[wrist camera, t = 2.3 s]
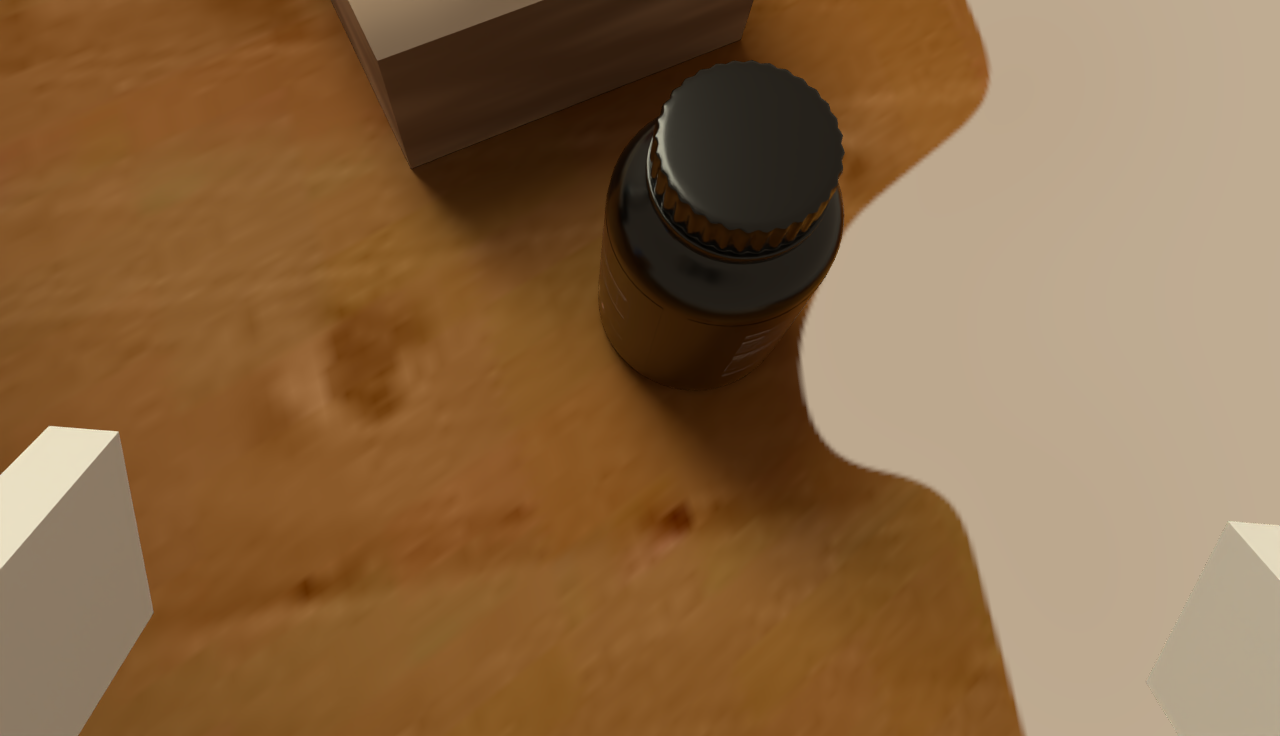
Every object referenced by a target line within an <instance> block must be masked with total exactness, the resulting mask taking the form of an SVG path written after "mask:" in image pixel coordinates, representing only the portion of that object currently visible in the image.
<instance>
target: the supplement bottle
mask: <svg viewBox="0 0 1280 736" xmlns="http://www.w3.org/2000/svg"><path fill="white" fill-rule="evenodd" d="M842 137H843V135H842V133H841V131H840V130H839V129H838V122H837V118H836V117H835V116H834V115H833V114H832V113H831V111H830V107H829V104H828V103H827V102H826V101H824V100H823V99H822V98H821V97H820V95H819V93H818V91H817V90H816V89H814V88H812V87H810V86H808V85H807V83H806V82H805V81H804V79H802V78H799V77H796V76H793V75H792V74H791V73H790V72H789V71H788V70H786V69H778V68H776V67H775V66H774V65H772V64H770V63H764V64H760V63H758V62H755V61H753V60H751V61H747V62H740V61H731V62H729V63H727V64H715V65H714V66H712V67H711V68H710V69H702V70H699V71H698V72H697V73H696V75H695V76H693V77H689V78H686V79H685V80H684V82H683V83H682V86H680V87H678V88H676V89H675V90H673V91H672V93H671V96H670V99H669V100H668V101H667V102H666V103H665V104H663V106H662V109H661V114H660V116H659V117H657V118H656V119H654V120H653V121H651V122H650V123H648V124H647V125H646V126H645V127H644V128H642V129H641V130H640V131H639V132H638V133H637V134H636V135H635V136H634V137H633V138H632V140H631V141H630V142H629V144H628V145H627V146H626V147H625V149H624V151H623V152H622V154H621V155H620V157H619V159H618V161H617V163H616V165H615V167H614V170H613V173H612V176H611V180H610V184H609V188H608V193H607V199H606V208H605V219H604V230H603V241H602V252H601V264H600V275H599V297H598V300H599V310H600V315H601V320H602V323H603V327H604V329H605V332H606V334H607V336H608V338H609V340H610V342H611V344H612V345H613V347H614V348H615V350H616V351H617V352H618V354H619V355H620V356H621V357H622V358H623V359H624V360H625V361H626V362H627V363H628V364H629V365H630V366H631V367H632V368H633V369H635V370H636V371H637V372H639V373H640V374H642V375H643V376H645V377H647V378H649V379H650V380H652V381H655V382H657V383H659V384H662V385H665V386H668V387H672V388H677V389H683V390H707V389H713V388H718V387H721V386H725V385H728V384H730V383H733V382H735V381H737V380H739V379H741V378H742V377H744V376H746V375H747V374H749V373H750V372H751V371H752V370H754V369H755V368H756V367H757V366H758V365H759V364H760V363H761V362H763V361H764V359H765V358H766V357H767V356H768V355H769V353H770V352H771V351H772V350H773V348H774V347H775V346H776V345H777V343H778V342H779V340H780V339H781V338H782V336H783V335H784V334H785V332H786V331H787V329H788V328H789V327H790V325H791V324H792V323H793V321H794V320H795V318H796V317H797V316H798V314H799V313H800V312H801V310H802V309H803V307H804V306H805V305H806V303H807V302H808V301H809V299H810V298H811V296H812V295H813V294H814V292H815V291H816V290H817V288H818V287H819V285H820V284H821V283H822V281H823V279H824V278H825V276H826V275H827V273H828V271H829V270H830V268H831V266H832V264H833V262H834V260H835V258H836V255H837V252H838V250H839V247H840V243H841V239H842V233H843V225H844V208H843V200H842V194H841V190H840V186H839V183H838V179H839V177H840V176H841V174H842V171H843V165H842V159H843V156H844V153H845V152H844V149H843V146H842V144H841V142H842Z"/></svg>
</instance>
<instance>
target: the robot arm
mask: <svg viewBox="0 0 1280 736" xmlns="http://www.w3.org/2000/svg"><path fill="white" fill-rule="evenodd" d="M153 613H154V612H153V607H152V602H151V597H150V592H149V586H148V581H147V576H146V571H145V566H144V560H143V555H142V550H141V545H140V540H139V534H138V529H137V524H136V519H135V514H134V508H133V503H132V498H131V493H130V488H129V482H128V477H127V472H126V467H125V462H124V457H123V451H122V446H121V441H120V436H119V432H117V431H105V430H92V429H80V428H67V427H55V426H49V427H48V428H47V429H46V430H45V431H44V432H43V433H42V434H41V435H40V436H39V437H38V438H37V439H36V440H35V441H34V442H33V443H32V444H31V445H30V446H29V447H28V448H27V449H26V450H25V451H24V452H23V453H22V454H21V455H20V456H19V457H18V458H17V459H16V460H15V461H14V462H13V463H12V464H11V465H10V466H9V467H8V468H7V469H6V470H5V471H4V472H3V473H2V474H1V475H0V736H78V735H79V733H80V732H81V730H82V728H83V727H84V725H85V723H86V722H87V720H88V719H89V717H90V715H91V714H92V712H93V710H94V709H95V707H96V706H97V704H98V702H99V701H100V699H101V697H102V696H103V694H104V692H105V691H106V689H107V688H108V686H109V684H110V683H111V681H112V679H113V678H114V676H115V675H116V673H117V671H118V670H119V668H120V666H121V665H122V663H123V662H124V660H125V658H126V657H127V655H128V653H129V652H130V650H131V649H132V647H133V645H134V644H135V642H136V640H137V639H138V637H139V636H140V634H141V632H142V631H143V629H144V627H145V626H146V624H147V623H148V621H149V619H150V618H151V616H152V614H153ZM1146 683H1147V685H1148V686H1149V688H1150V690H1151V691H1152V693H1153V695H1154V696H1155V698H1156V700H1157V701H1158V703H1159V705H1160V706H1161V708H1162V709H1163V711H1164V713H1165V715H1166V716H1167V718H1168V719H1169V721H1170V723H1171V724H1172V726H1173V728H1174V729H1175V731H1176V733H1177V734H1178V736H1280V525H1268V524H1255V523H1243V522H1231V521H1228V522H1227V524H1226V526H1225V528H1224V530H1223V532H1222V534H1221V536H1220V538H1219V540H1218V542H1217V544H1216V545H1215V547H1214V549H1213V551H1212V553H1211V555H1210V557H1209V559H1208V561H1207V563H1206V565H1205V567H1204V569H1203V571H1202V573H1201V575H1200V577H1199V579H1198V581H1197V583H1196V585H1195V586H1194V588H1193V590H1192V592H1191V594H1190V596H1189V598H1188V600H1187V602H1186V604H1185V606H1184V608H1183V610H1182V612H1181V614H1180V616H1179V618H1178V620H1177V622H1176V624H1175V626H1174V628H1173V630H1172V631H1171V634H1170V635H1169V637H1168V639H1167V641H1166V643H1165V645H1164V647H1163V649H1162V651H1161V653H1160V655H1159V657H1158V659H1157V661H1156V663H1155V665H1154V667H1153V669H1152V670H1151V672H1150V674H1149V676H1148V678H1147V680H1146Z"/></svg>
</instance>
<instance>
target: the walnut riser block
mask: <svg viewBox="0 0 1280 736" xmlns="http://www.w3.org/2000/svg"><path fill="white" fill-rule="evenodd" d="M331 2H332V4H333V6H334V8H335V10H336V12H337V14H338V16H339V18H340V21H341V23H342V25H343V27H344V29H345V31H346V33H347V35H348V37H349V39H350V42H351V44H352V46H353V48H354V50H355V52H356V54H357V56H358V58H359V61H360V63H361V65H362V67H363V69H364V71H365V73H366V75H367V77H368V80H369V82H370V84H371V86H372V88H373V90H374V92H375V94H376V96H377V98H378V101H379V103H380V105H381V107H382V109H383V111H384V113H385V115H386V117H387V120H388V122H389V124H390V126H391V128H392V130H393V132H394V134H395V136H396V138H397V141H398V143H399V145H400V147H401V149H402V151H403V153H404V155H405V157H406V160H407V162H408V164H409V166H410V168H411V169H412V168H414V167H417V166H419V165H422V164H425V163H427V162H430V161H432V160H435V159H437V158H440V157H442V156H445V155H447V154H450V153H453V152H455V151H458V150H460V149H463V148H465V147H468V146H470V145H473V144H475V143H478V142H481V141H483V140H486V139H488V138H491V137H493V136H496V135H498V134H501V133H503V132H506V131H509V130H511V129H514V128H516V127H519V126H521V125H524V124H526V123H529V122H531V121H534V120H537V119H539V118H542V117H544V116H547V115H549V114H552V113H554V112H557V111H560V110H562V109H565V108H567V107H570V106H572V105H575V104H577V103H580V102H582V101H585V100H588V99H590V98H593V97H595V96H598V95H600V94H603V93H605V92H608V91H610V90H613V89H616V88H618V87H621V86H623V85H626V84H628V83H631V82H633V81H636V80H638V79H641V78H644V77H646V76H649V75H651V74H654V73H656V72H659V71H661V70H664V69H666V68H669V67H672V66H674V65H677V64H679V63H682V62H684V61H687V60H689V59H692V58H695V57H697V56H700V55H702V54H705V53H707V52H710V51H712V50H715V49H717V48H720V47H723V46H725V45H728V44H730V43H733V42H735V41H738V40H740V39H741V37H742V34H743V31H744V28H745V25H746V22H747V19H748V16H749V13H750V9H751V6H752V3H753V0H331Z"/></svg>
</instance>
